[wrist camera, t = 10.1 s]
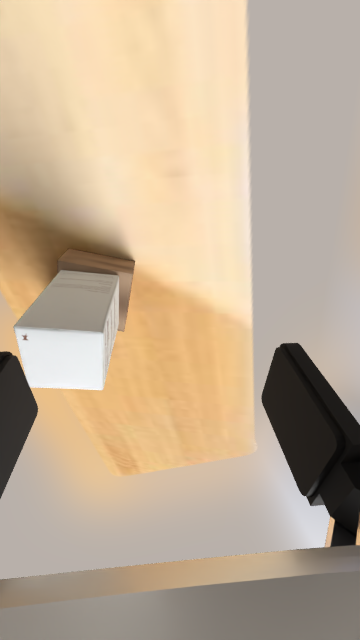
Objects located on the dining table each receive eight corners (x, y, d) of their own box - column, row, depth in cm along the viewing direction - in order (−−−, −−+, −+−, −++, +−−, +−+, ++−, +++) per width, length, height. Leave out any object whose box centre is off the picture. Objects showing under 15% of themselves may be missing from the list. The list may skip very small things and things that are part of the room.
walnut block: (69, 247, 35) (57, 260, 31) (135, 260, 37) (132, 274, 33) (68, 304, 40) (58, 322, 36) (127, 313, 42) (124, 331, 37)
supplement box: (65, 318, 36) (24, 388, 25) (60, 267, 32) (9, 324, 21) (120, 323, 37) (103, 392, 26) (121, 274, 33) (103, 332, 22)
